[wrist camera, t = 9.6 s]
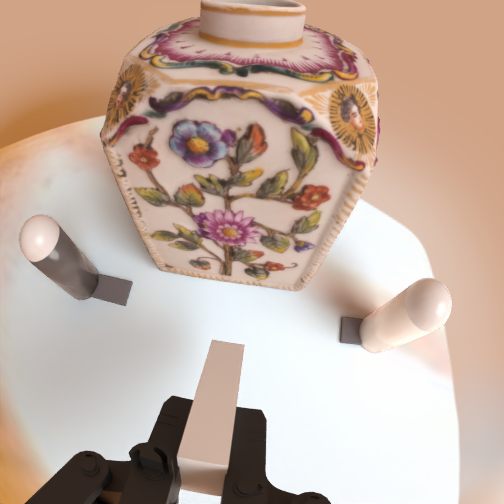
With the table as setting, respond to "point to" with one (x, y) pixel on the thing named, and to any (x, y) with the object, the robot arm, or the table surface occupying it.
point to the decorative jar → (242, 141)
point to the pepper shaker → (58, 256)
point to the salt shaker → (406, 316)
